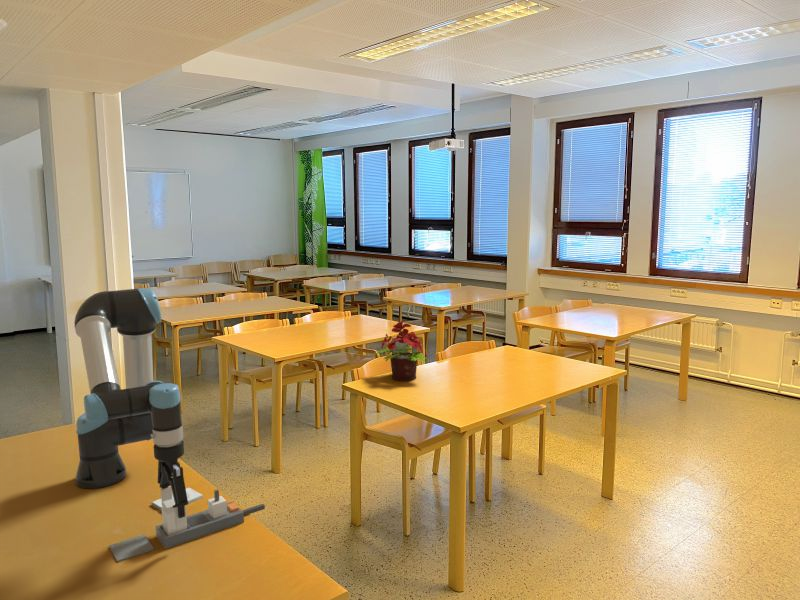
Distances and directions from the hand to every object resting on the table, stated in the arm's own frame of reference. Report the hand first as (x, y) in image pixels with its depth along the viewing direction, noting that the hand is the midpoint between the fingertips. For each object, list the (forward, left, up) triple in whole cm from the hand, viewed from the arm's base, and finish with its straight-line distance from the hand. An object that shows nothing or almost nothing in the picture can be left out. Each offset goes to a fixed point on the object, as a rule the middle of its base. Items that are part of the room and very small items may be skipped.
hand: (174, 518), depth 166 cm
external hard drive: (-21, +7, -6) cm, 23 cm away
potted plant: (-83, +140, -6) cm, 163 cm away
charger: (0, 0, -4) cm, 4 cm away
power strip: (0, +11, -6) cm, 12 cm away
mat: (-2, -11, -6) cm, 12 cm away
